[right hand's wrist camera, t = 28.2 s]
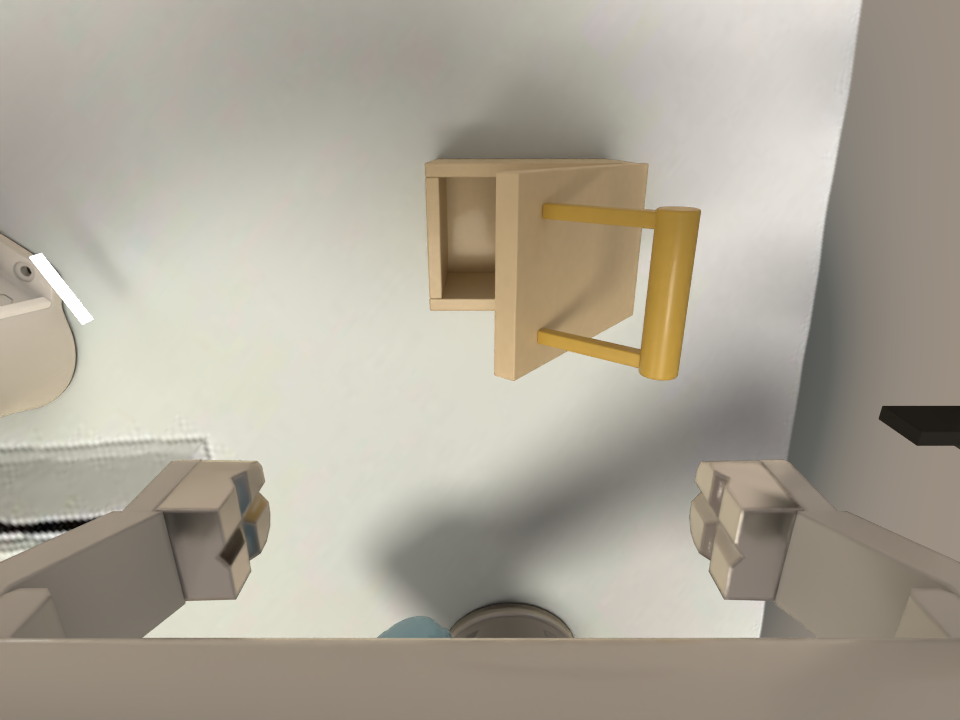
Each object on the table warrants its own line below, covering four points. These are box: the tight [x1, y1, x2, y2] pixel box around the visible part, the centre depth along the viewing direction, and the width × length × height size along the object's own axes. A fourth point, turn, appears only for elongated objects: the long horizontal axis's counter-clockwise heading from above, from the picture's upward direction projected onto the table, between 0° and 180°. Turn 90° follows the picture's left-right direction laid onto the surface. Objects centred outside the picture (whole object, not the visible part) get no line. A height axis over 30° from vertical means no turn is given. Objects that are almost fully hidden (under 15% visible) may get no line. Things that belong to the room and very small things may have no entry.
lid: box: [494, 163, 701, 381], centre depth 29 cm, size 14×10×8 cm
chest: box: [425, 159, 633, 311], centre depth 41 cm, size 14×10×9 cm
